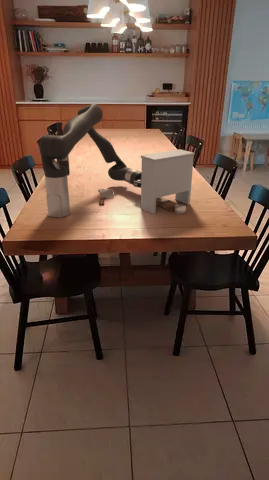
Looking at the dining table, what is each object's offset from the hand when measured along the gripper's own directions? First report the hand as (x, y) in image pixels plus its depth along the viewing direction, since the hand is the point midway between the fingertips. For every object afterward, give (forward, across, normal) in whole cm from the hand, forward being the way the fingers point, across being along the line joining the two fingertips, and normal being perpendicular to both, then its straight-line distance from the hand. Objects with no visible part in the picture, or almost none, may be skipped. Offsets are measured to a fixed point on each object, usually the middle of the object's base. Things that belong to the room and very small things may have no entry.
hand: (157, 186), depth 169 cm
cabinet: (+7, 0, +8) cm, 10 cm away
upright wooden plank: (+5, 0, +7) cm, 9 cm away
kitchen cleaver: (-20, -16, +8) cm, 27 cm away
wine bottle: (-70, -14, +8) cm, 72 cm away
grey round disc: (+16, 0, +8) cm, 18 cm away
